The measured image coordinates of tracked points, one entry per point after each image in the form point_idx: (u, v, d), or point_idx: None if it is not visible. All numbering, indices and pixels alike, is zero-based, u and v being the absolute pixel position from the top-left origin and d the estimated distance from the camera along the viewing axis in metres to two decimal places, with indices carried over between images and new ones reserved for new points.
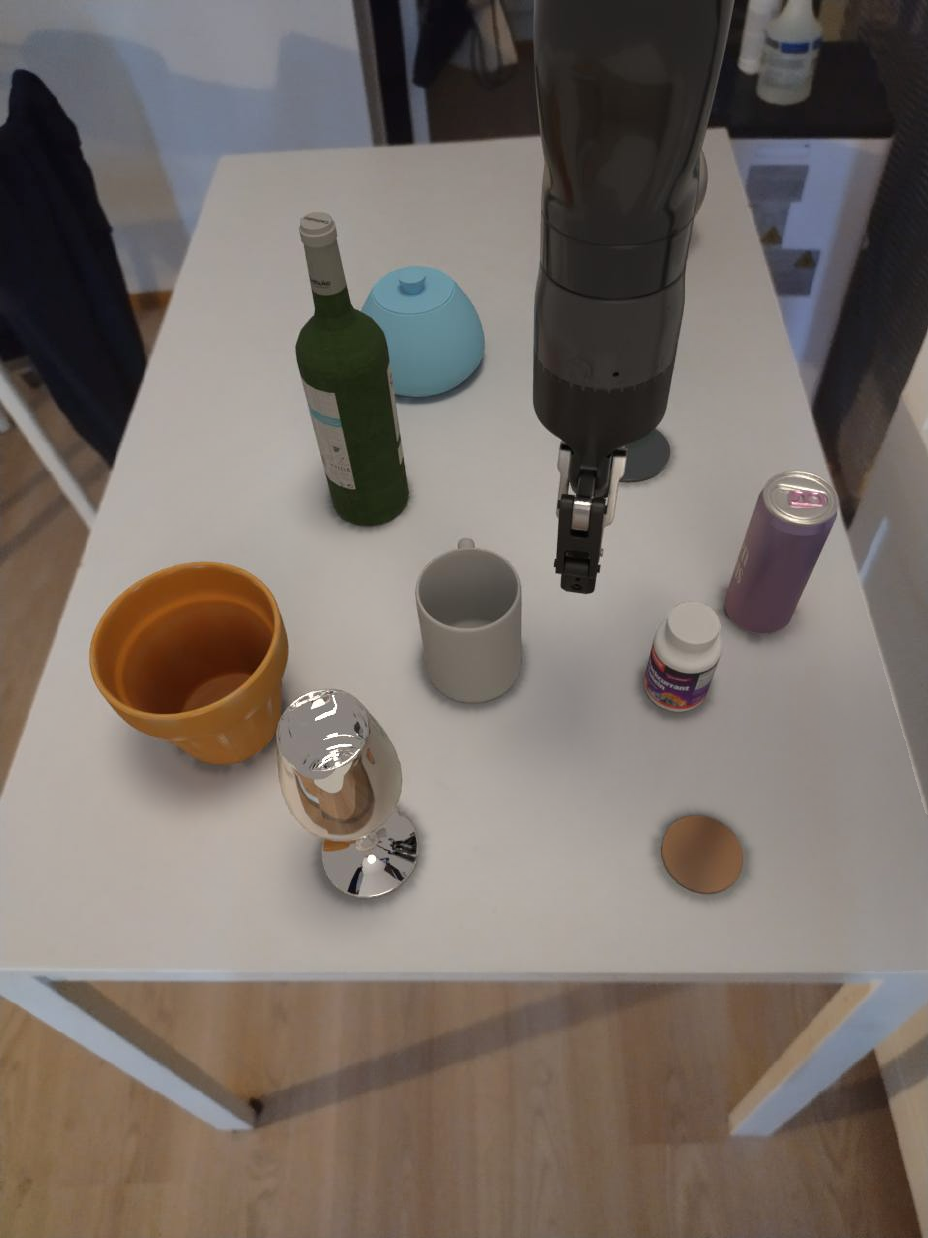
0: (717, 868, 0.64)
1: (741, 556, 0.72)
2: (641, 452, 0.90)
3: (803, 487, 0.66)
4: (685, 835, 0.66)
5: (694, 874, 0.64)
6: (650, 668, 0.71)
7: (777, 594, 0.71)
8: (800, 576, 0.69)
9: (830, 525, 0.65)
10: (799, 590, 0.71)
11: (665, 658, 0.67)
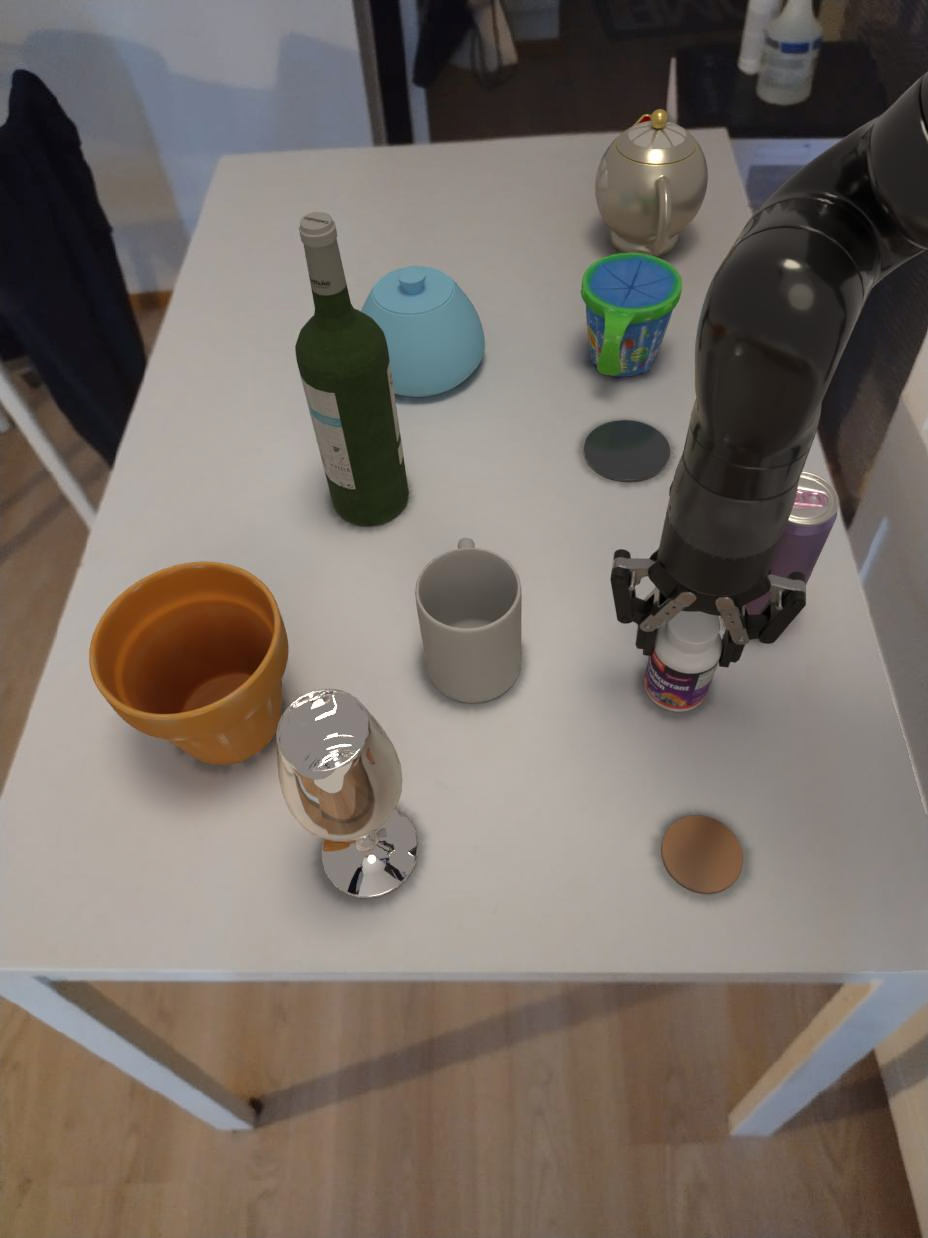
0: (717, 868, 0.64)
1: None
2: (641, 452, 0.90)
3: (804, 487, 0.66)
4: (685, 835, 0.66)
5: (694, 874, 0.64)
6: (650, 668, 0.71)
7: None
8: None
9: (830, 525, 0.65)
10: None
11: (665, 658, 0.67)
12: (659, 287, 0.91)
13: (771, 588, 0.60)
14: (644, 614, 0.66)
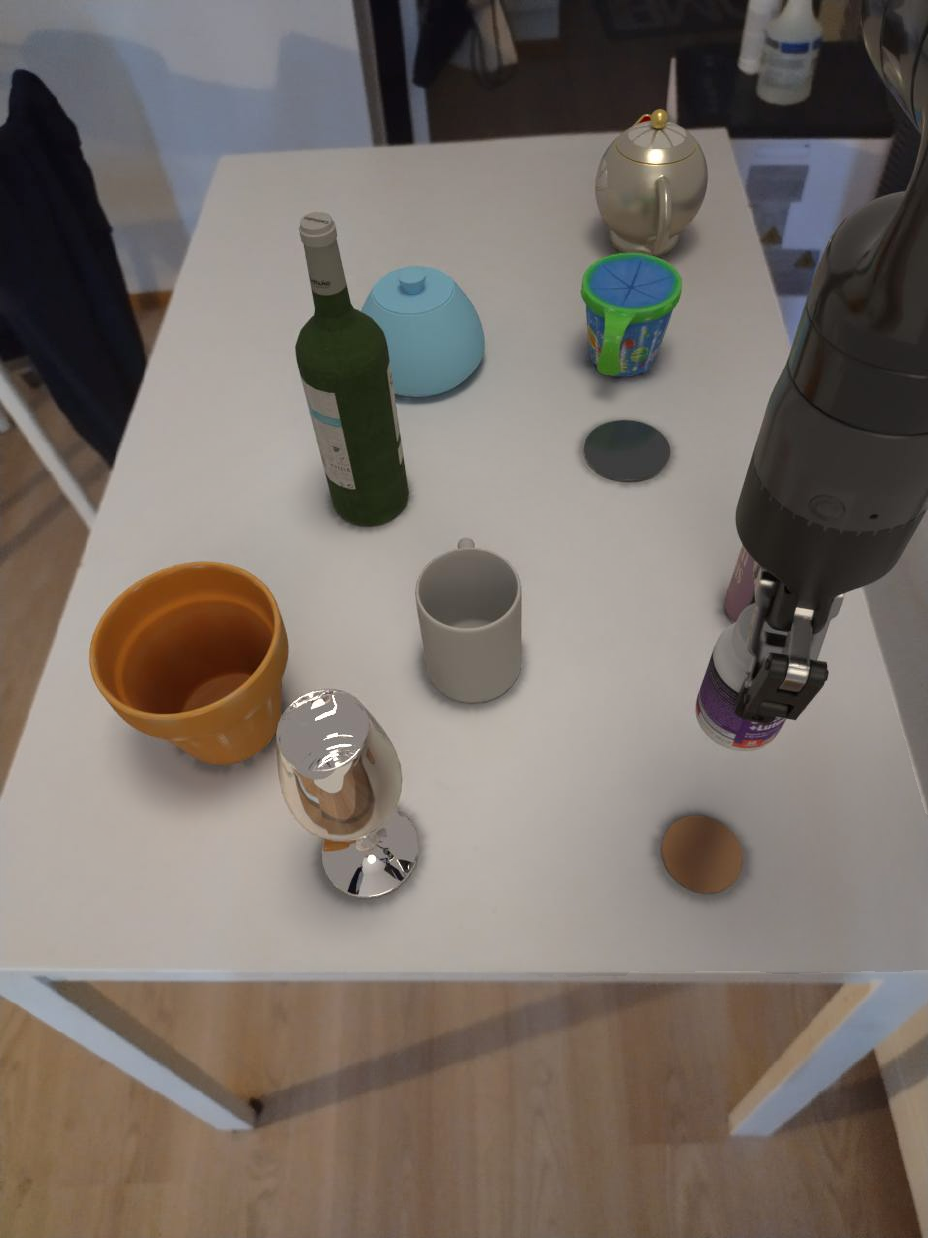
0: (717, 868, 0.64)
1: (741, 556, 0.72)
2: (641, 452, 0.90)
3: None
4: (685, 835, 0.66)
5: (694, 874, 0.64)
6: (764, 724, 0.50)
7: None
8: None
9: None
10: None
11: None
12: (659, 287, 0.91)
13: None
14: None
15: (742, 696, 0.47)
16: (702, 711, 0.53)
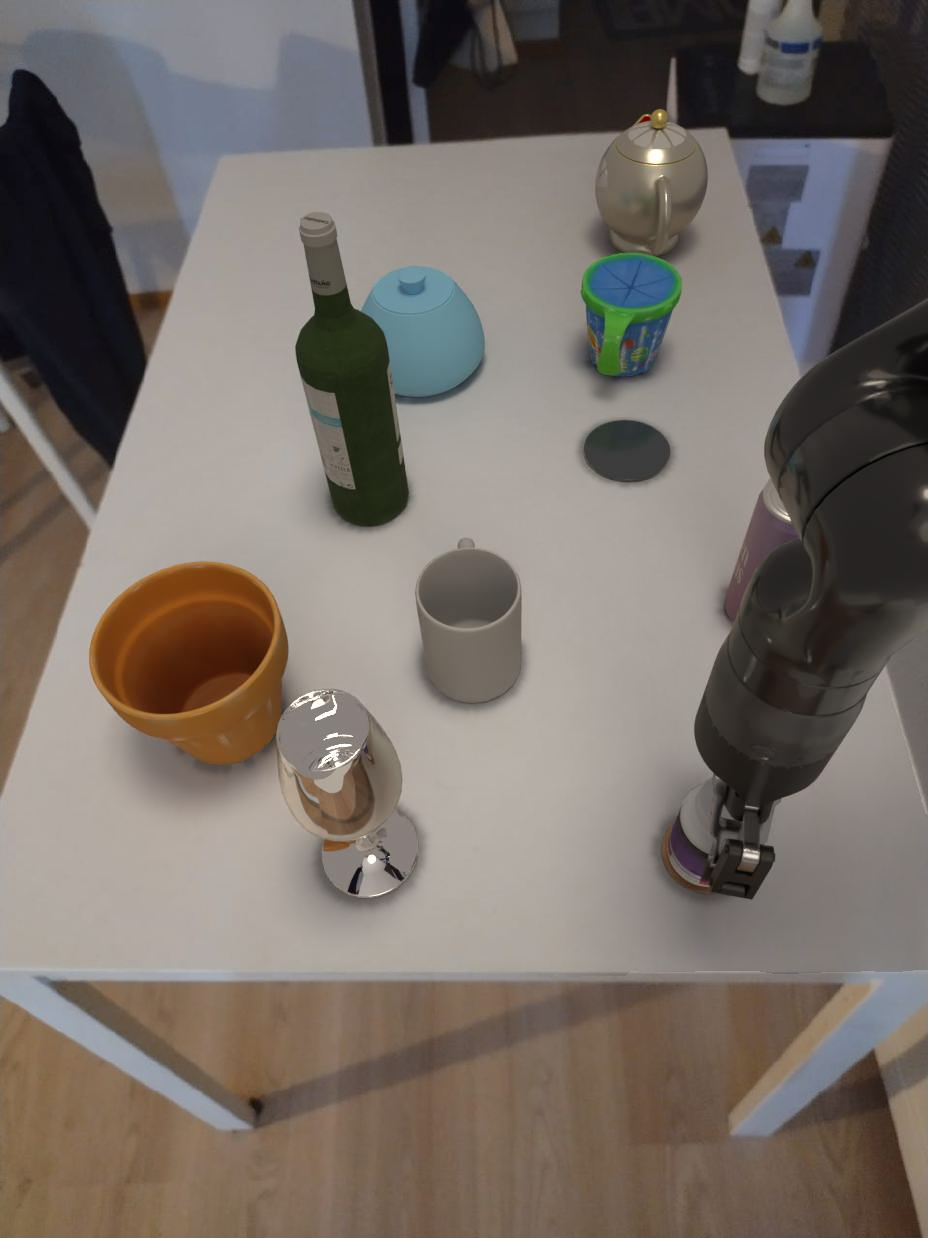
0: None
1: (741, 556, 0.72)
2: (641, 452, 0.90)
3: None
4: None
5: None
6: None
7: None
8: None
9: None
10: None
11: None
12: (659, 287, 0.91)
13: None
14: None
15: (707, 868, 0.55)
16: (673, 855, 0.63)
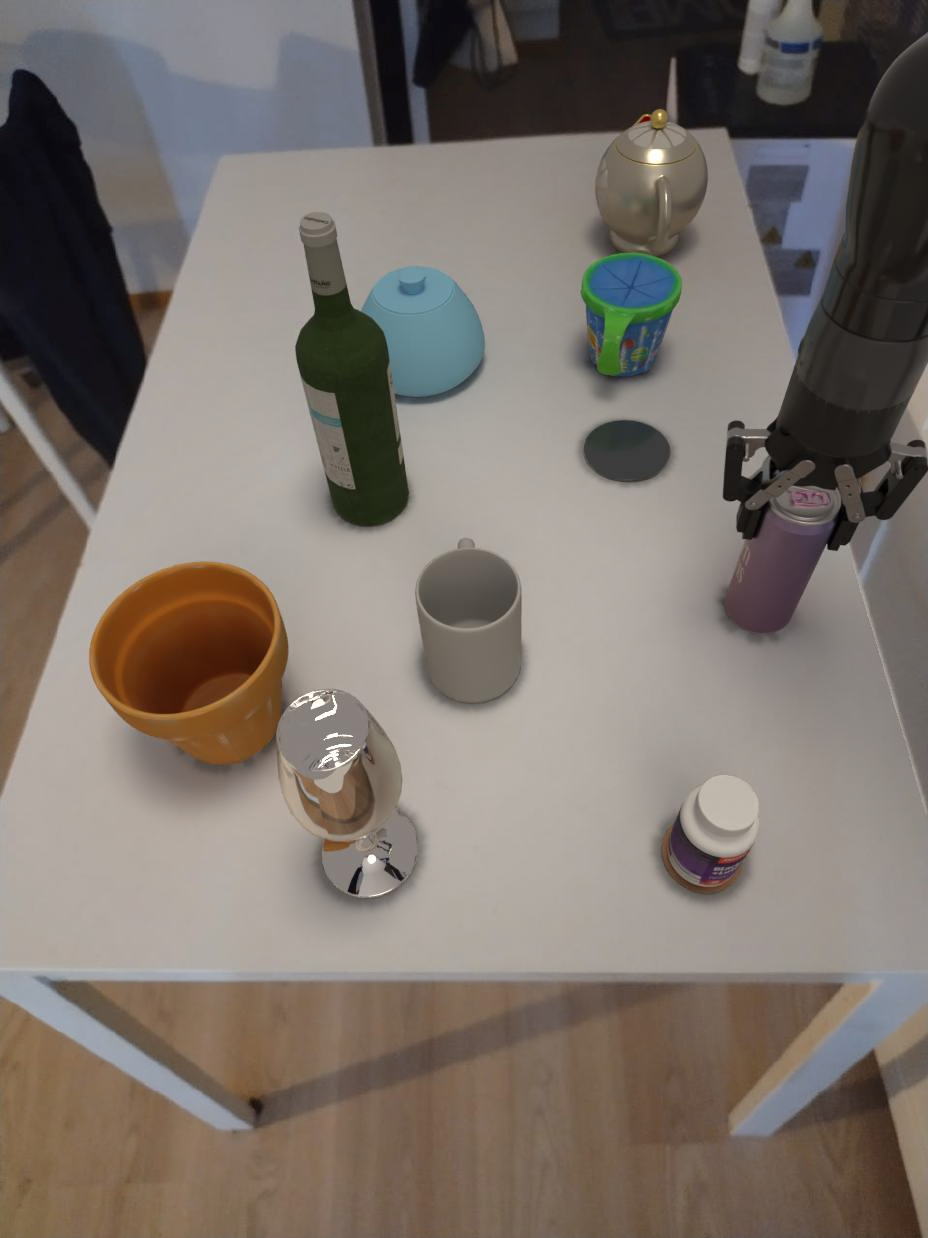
0: None
1: (743, 555, 0.72)
2: (641, 452, 0.90)
3: (806, 486, 0.66)
4: None
5: None
6: (724, 870, 0.60)
7: (778, 594, 0.71)
8: (801, 576, 0.69)
9: (833, 525, 0.65)
10: (800, 590, 0.71)
11: (750, 844, 0.58)
12: (659, 287, 0.91)
13: (891, 456, 0.60)
14: (750, 491, 0.65)
15: None
16: (673, 855, 0.63)
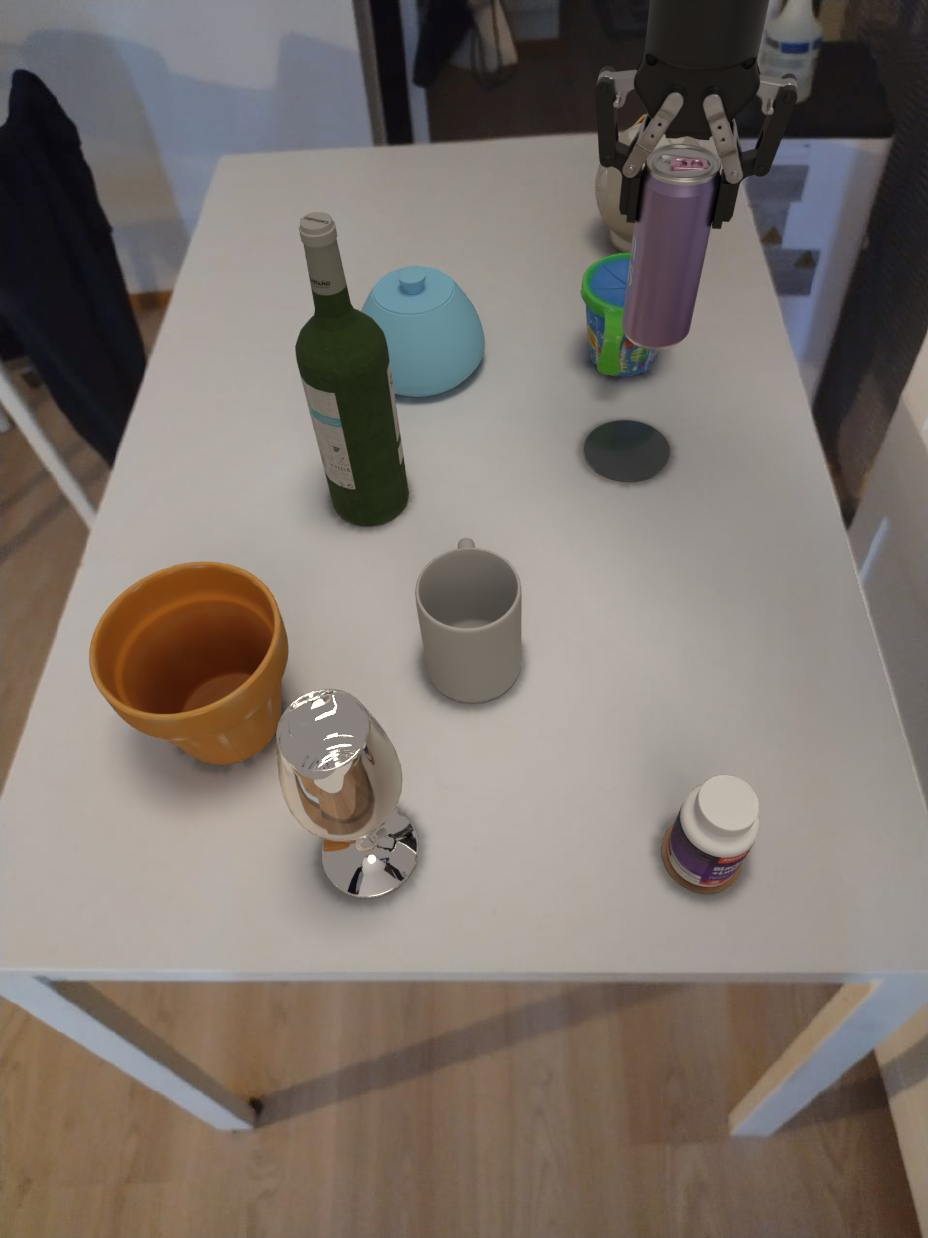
0: None
1: (631, 251, 0.70)
2: (641, 452, 0.90)
3: (687, 155, 0.65)
4: None
5: None
6: (724, 870, 0.60)
7: (667, 287, 0.69)
8: (687, 262, 0.68)
9: (712, 189, 0.64)
10: (690, 285, 0.70)
11: (750, 844, 0.58)
12: None
13: (761, 87, 0.58)
14: (627, 154, 0.64)
15: None
16: (673, 855, 0.63)
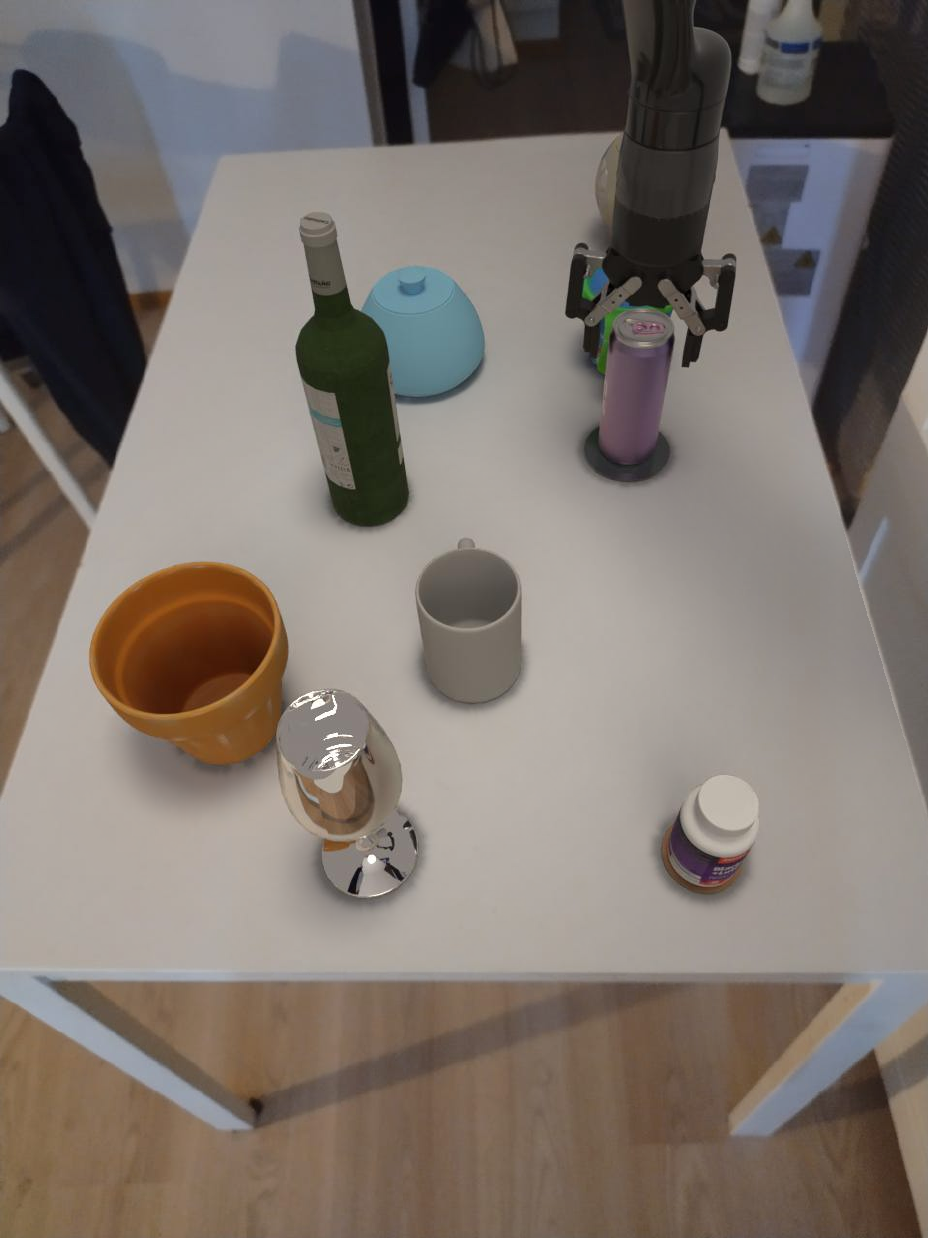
0: None
1: (604, 389, 0.84)
2: None
3: (647, 320, 0.79)
4: None
5: None
6: (724, 870, 0.60)
7: (633, 420, 0.84)
8: (649, 402, 0.82)
9: (667, 349, 0.78)
10: (652, 417, 0.84)
11: (750, 844, 0.58)
12: None
13: (705, 270, 0.72)
14: (588, 308, 0.77)
15: None
16: (673, 855, 0.63)
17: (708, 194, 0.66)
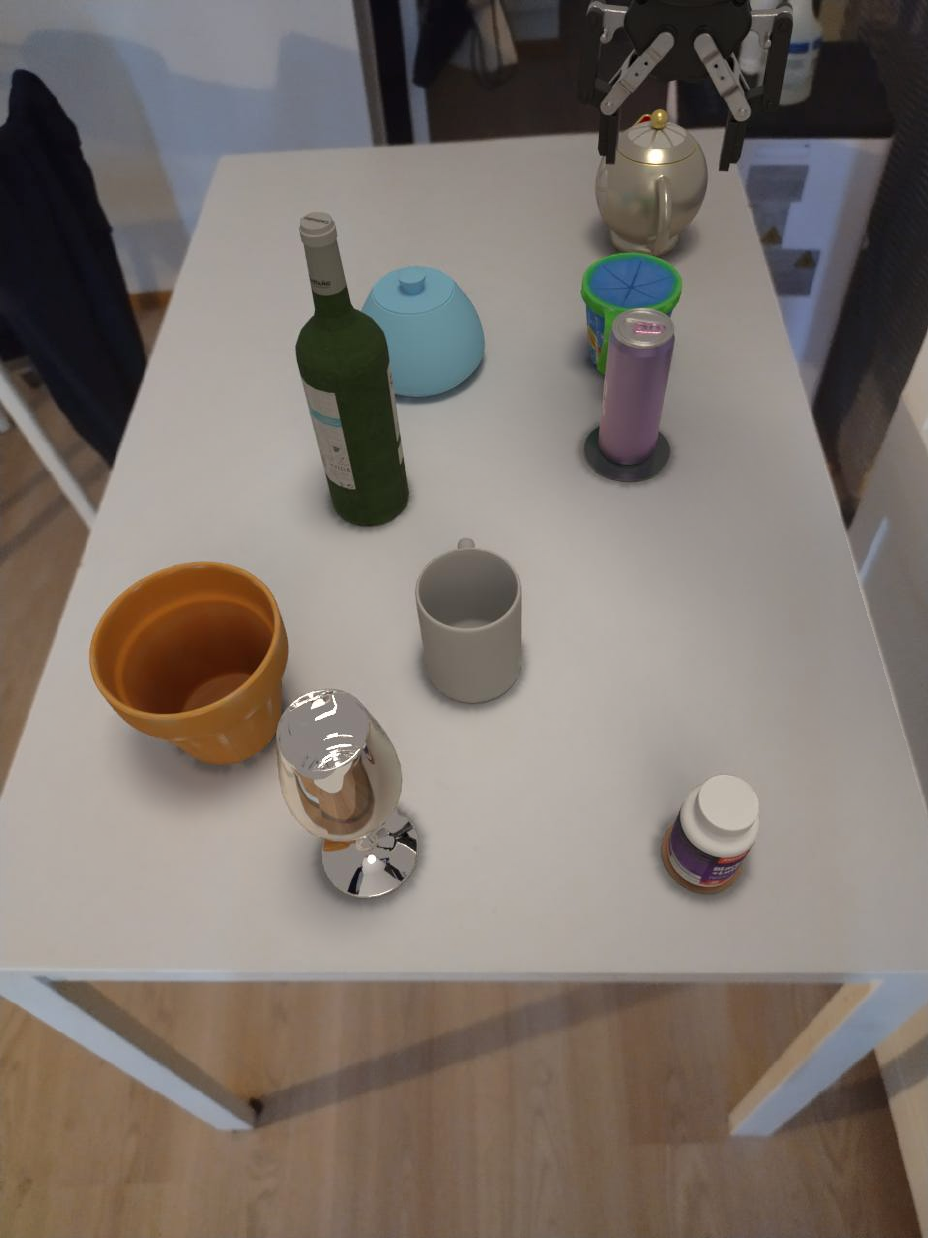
0: None
1: (604, 389, 0.84)
2: None
3: (647, 320, 0.79)
4: None
5: None
6: (724, 870, 0.60)
7: (633, 420, 0.84)
8: (649, 402, 0.82)
9: (667, 349, 0.78)
10: (652, 417, 0.84)
11: (750, 844, 0.58)
12: (659, 287, 0.91)
13: (754, 22, 0.57)
14: (605, 90, 0.62)
15: None
16: (673, 855, 0.63)
17: None
